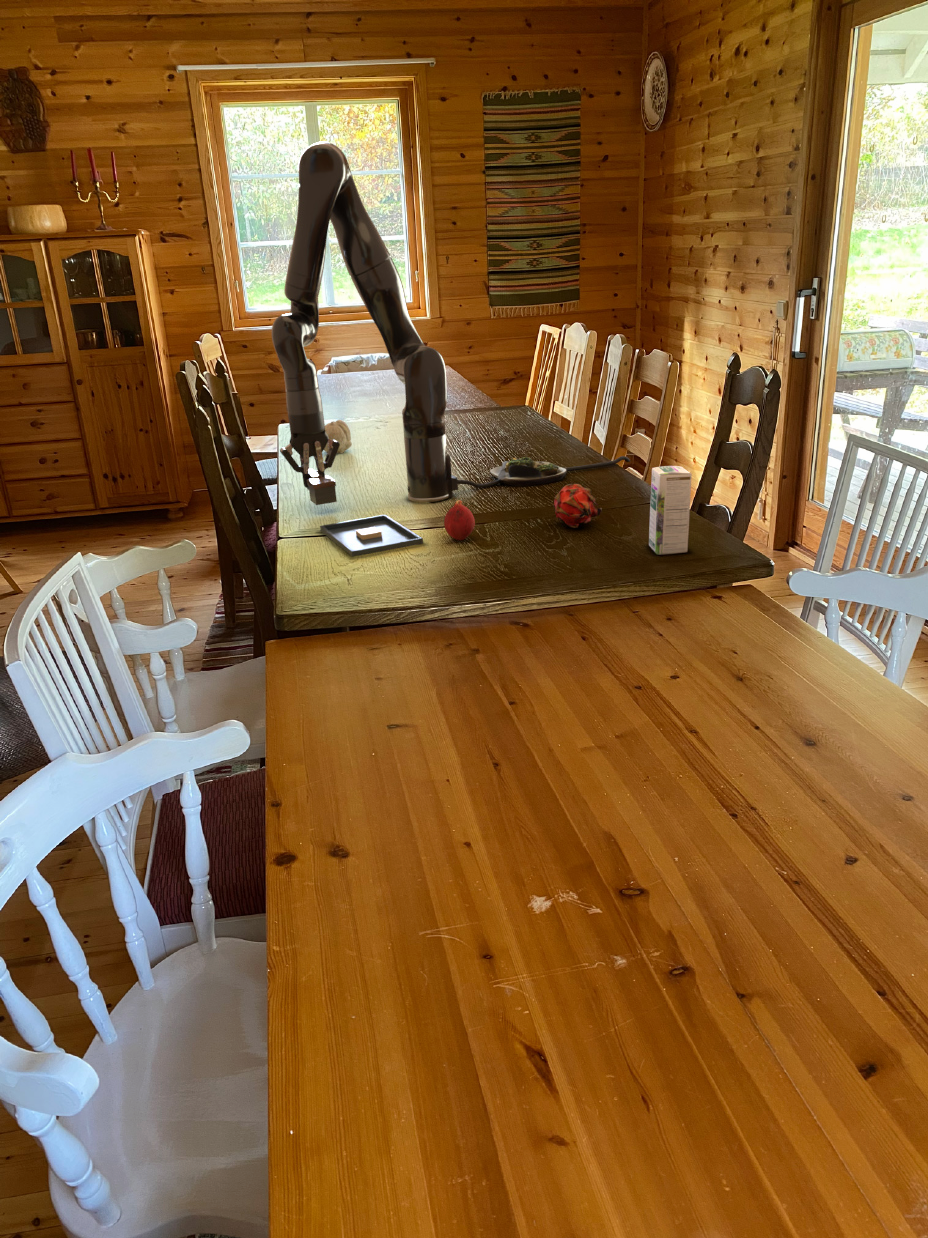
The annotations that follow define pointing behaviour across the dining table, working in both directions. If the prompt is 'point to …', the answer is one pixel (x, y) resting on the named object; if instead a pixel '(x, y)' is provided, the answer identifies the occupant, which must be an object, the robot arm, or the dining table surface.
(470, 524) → the onion
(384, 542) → the tray
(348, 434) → the garlic bulb
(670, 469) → the syrup box
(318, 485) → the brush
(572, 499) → the dragon fruit
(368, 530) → the tan flat square block
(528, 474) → the salad plate
